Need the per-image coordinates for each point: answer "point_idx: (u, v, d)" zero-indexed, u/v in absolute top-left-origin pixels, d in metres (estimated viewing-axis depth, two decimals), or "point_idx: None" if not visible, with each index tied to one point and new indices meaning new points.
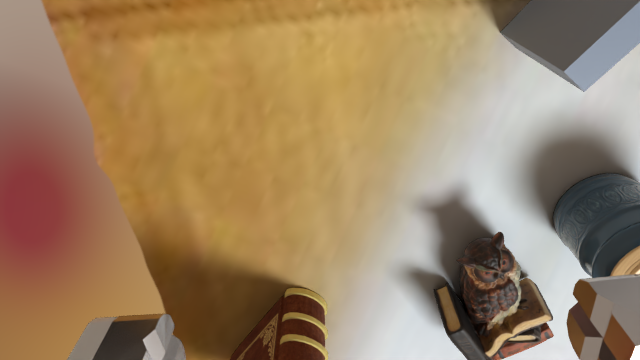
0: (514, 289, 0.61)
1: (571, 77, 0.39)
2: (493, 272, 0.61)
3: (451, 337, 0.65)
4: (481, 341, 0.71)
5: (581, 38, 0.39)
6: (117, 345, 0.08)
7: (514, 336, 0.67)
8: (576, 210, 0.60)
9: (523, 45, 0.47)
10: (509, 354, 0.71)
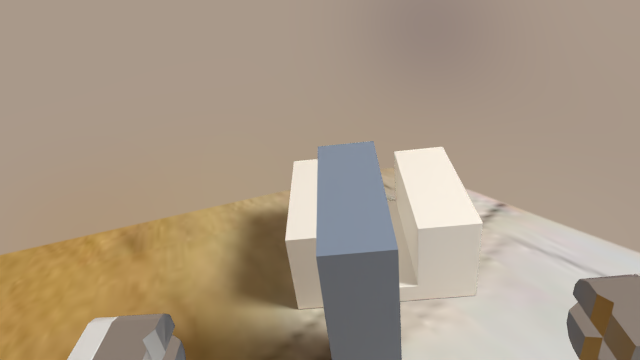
0: None
1: (342, 252, 0.16)
2: None
3: None
4: None
5: None
6: (117, 345, 0.08)
7: None
8: None
9: None
10: None
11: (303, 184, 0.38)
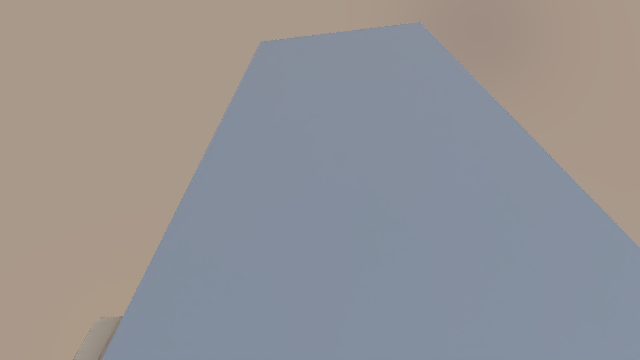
0: None
1: None
2: None
3: None
4: None
5: None
6: None
7: None
8: None
9: None
10: None
11: None
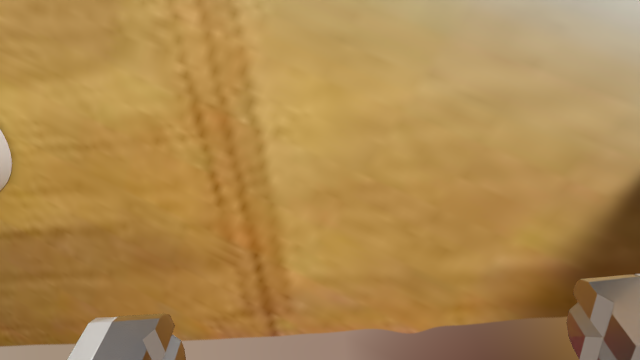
0: None
1: None
2: None
3: None
4: None
5: None
6: (117, 345, 0.08)
7: None
8: None
9: None
10: None
11: None
